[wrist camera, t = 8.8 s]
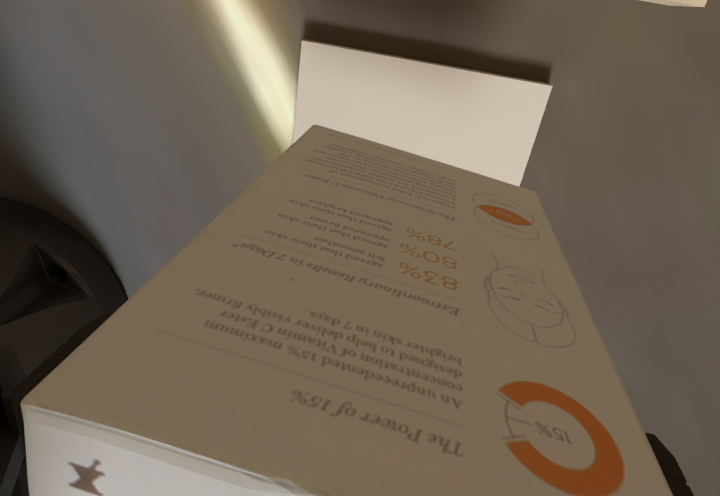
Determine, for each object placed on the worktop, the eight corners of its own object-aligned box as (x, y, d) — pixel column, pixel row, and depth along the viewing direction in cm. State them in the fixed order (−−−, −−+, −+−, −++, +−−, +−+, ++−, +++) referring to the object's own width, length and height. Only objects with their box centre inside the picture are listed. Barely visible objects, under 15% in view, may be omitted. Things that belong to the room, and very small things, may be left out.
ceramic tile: (289, 220, 29) (285, 226, 28) (305, 39, 24) (301, 40, 23) (490, 261, 28) (492, 268, 27) (549, 83, 23) (552, 86, 23)
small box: (279, 273, 19) (34, 664, 8) (312, 119, 16) (-6, 393, 5) (473, 334, 19) (509, 827, 8) (543, 190, 16) (768, 648, 5)
